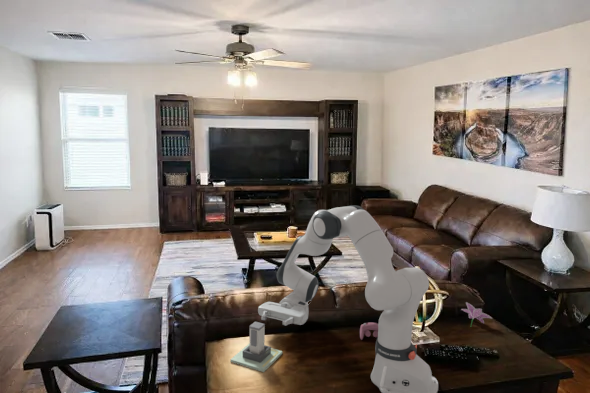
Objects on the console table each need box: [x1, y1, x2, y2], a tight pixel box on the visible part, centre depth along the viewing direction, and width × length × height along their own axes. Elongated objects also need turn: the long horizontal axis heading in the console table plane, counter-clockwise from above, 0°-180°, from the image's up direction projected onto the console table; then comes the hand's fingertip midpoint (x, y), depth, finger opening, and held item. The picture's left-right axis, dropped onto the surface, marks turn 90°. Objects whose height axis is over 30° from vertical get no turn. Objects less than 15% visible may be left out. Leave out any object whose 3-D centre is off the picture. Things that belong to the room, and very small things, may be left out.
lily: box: [460, 301, 493, 326], centre depth 201 cm, size 12×12×10 cm
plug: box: [248, 321, 266, 355], centre depth 170 cm, size 4×5×12 cm
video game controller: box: [359, 322, 379, 341], centre depth 188 cm, size 10×5×7 cm, turn 85°
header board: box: [230, 342, 283, 373], centre depth 171 cm, size 14×14×4 cm
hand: (273, 320), depth 180 cm, fingers open, 8 cm apart
